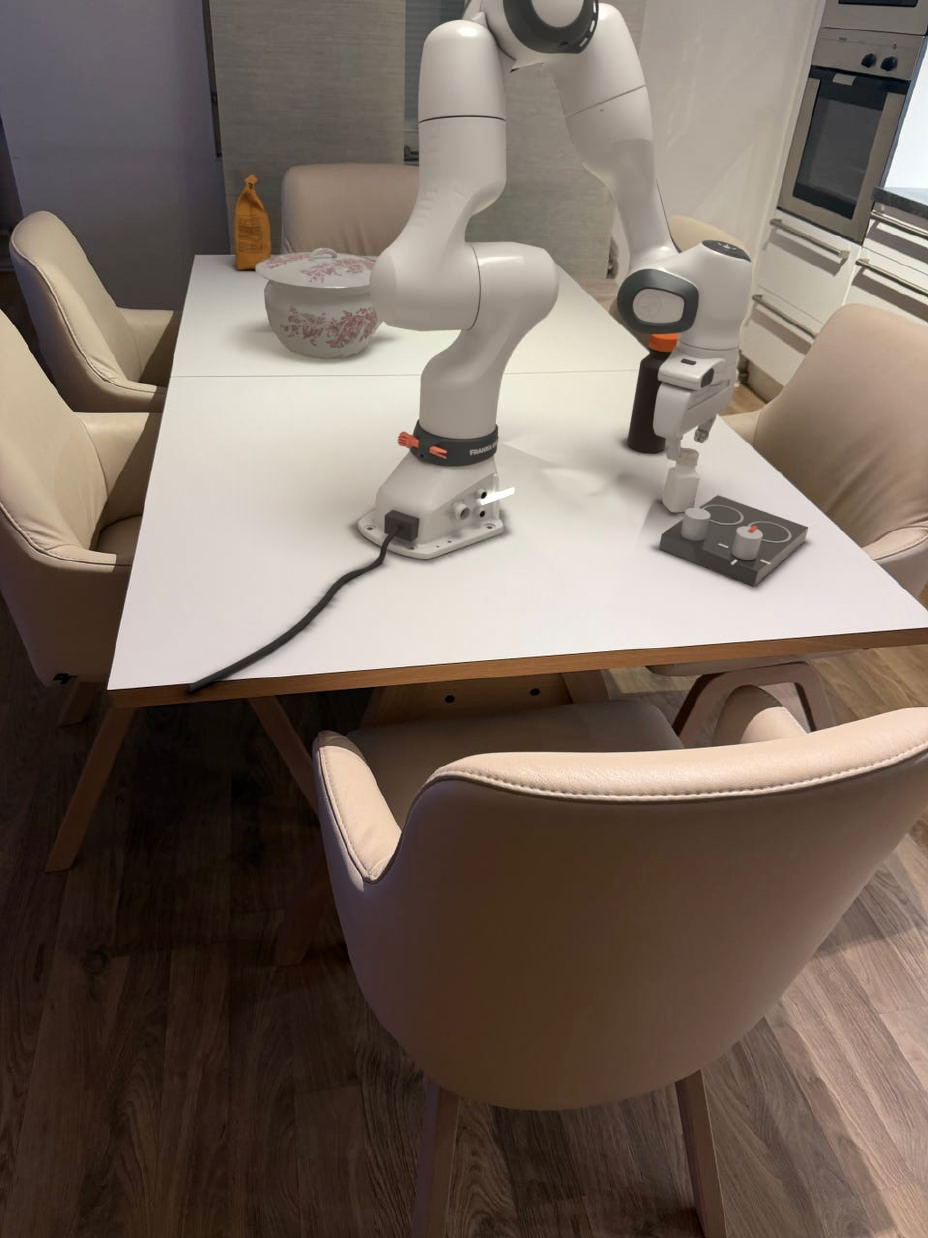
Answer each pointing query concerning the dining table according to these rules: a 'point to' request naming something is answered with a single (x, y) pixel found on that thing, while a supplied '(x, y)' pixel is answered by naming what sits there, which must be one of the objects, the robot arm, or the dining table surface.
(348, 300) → the chamber pot
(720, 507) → the hob zones
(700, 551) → the hob
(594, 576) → the dining table surface
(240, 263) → the coffee package
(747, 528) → the hob knob
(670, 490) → the pepper shaker
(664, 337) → the bottle
